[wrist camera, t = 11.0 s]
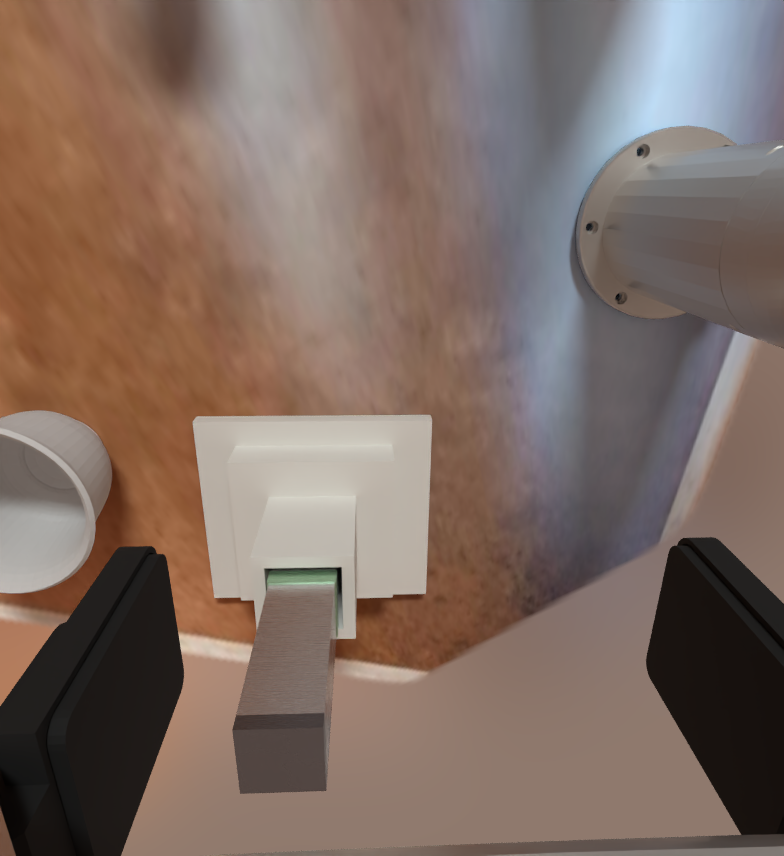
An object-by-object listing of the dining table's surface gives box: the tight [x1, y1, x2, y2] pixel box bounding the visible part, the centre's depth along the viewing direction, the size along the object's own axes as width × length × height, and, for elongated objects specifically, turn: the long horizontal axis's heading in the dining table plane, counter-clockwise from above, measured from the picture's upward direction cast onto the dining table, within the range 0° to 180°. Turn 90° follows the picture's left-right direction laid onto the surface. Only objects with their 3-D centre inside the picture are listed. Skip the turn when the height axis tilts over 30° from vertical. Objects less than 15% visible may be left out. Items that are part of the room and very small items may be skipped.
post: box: [233, 567, 340, 794], centre depth 35 cm, size 4×4×17 cm
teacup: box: [0, 411, 112, 594], centre depth 42 cm, size 12×15×10 cm
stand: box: [193, 415, 432, 639], centre depth 43 cm, size 18×16×13 cm
